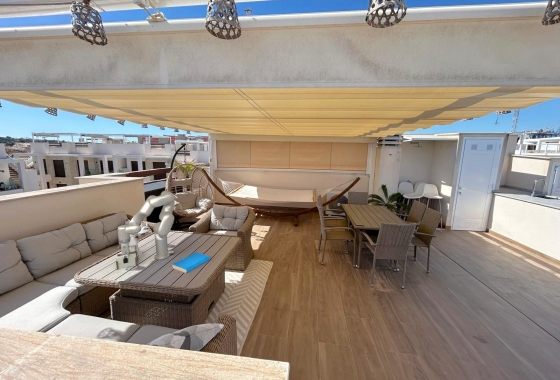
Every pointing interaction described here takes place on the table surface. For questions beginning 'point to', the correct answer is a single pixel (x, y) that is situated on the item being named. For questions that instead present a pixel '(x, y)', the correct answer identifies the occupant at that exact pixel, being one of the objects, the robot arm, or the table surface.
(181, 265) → the book
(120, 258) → the cover plate
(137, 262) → the box
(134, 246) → the toy gun turret
